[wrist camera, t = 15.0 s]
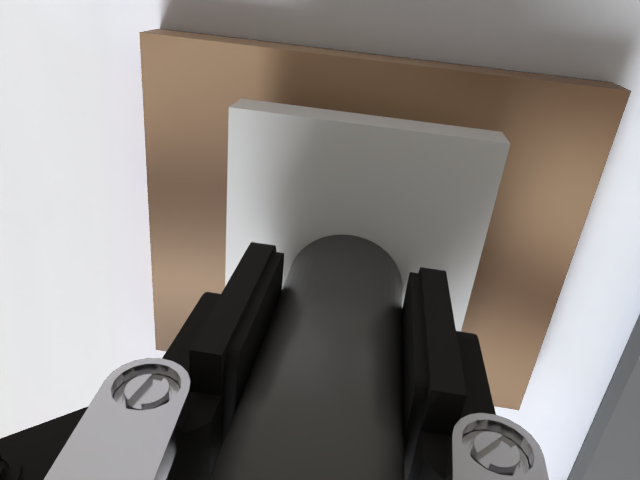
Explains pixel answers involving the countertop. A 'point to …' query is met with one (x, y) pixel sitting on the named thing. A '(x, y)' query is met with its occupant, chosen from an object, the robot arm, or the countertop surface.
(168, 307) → the plate
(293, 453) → the grey post stand
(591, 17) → the countertop surface
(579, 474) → the mat
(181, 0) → the countertop surface
